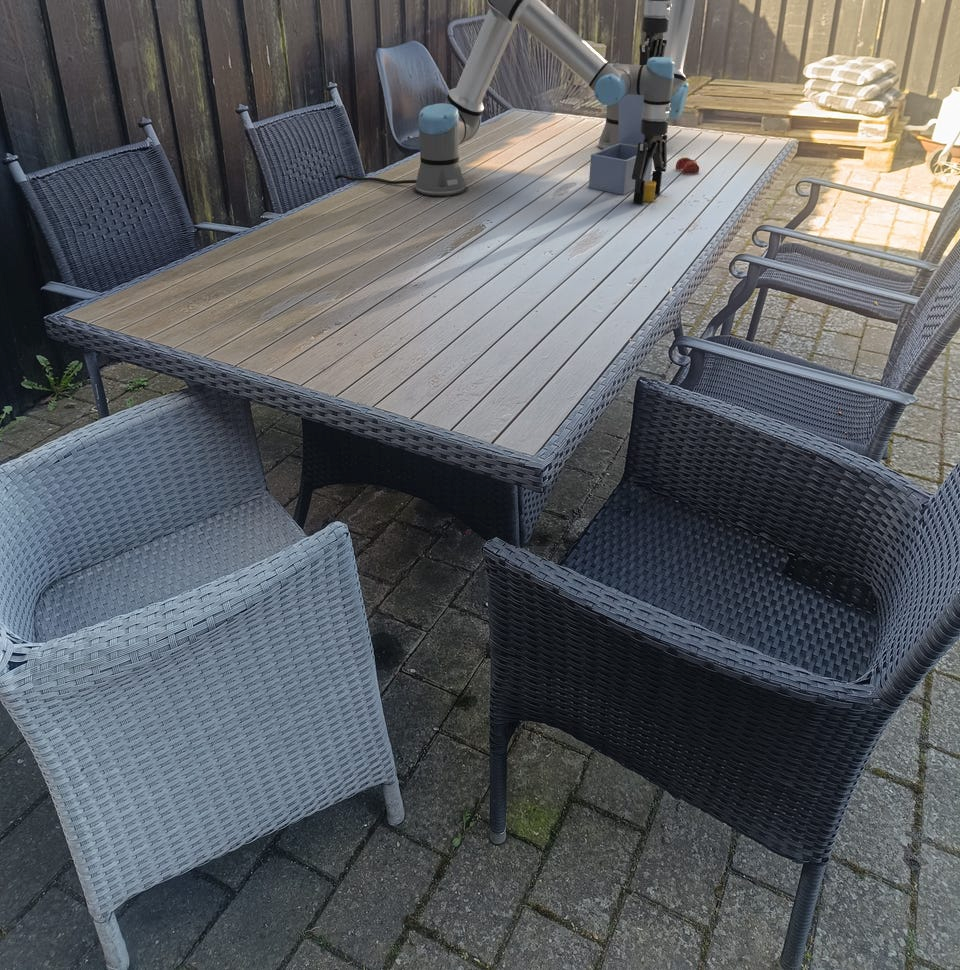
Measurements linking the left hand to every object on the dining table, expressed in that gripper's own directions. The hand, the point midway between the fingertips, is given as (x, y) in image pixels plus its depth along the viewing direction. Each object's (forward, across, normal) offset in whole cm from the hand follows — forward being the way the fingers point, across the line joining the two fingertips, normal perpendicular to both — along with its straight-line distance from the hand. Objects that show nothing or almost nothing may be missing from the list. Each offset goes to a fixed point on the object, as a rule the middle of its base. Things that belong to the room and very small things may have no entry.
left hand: (646, 198), depth 251 cm
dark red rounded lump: (0, +34, +3) cm, 34 cm away
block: (0, 0, 0) cm, 0 cm away
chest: (0, +8, +14) cm, 16 cm away
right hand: (-21, +21, +14) cm, 33 cm away
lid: (-19, +15, +14) cm, 28 cm away
